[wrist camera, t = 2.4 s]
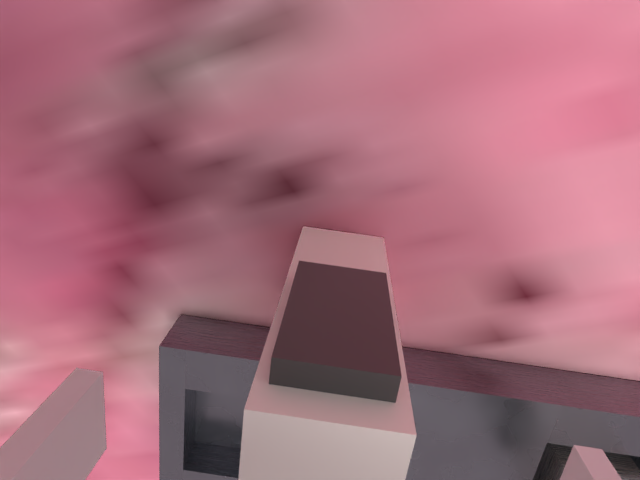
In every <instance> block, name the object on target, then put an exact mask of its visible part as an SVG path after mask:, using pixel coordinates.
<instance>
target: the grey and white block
mask: <svg viewBox="0 0 640 480" xmlns="http://www.w3.org/2000/svg"><path fill="white" fill-rule="evenodd" d="M269 330H270V328H269V327H262V326H256V325H249V324H242V323H235V322H228V321H221V320H215V319H208V318H201V317H194V316H187V315H181V316H180V317H179V318H178V320H177V321H176V323H175V324H174V326H173V327H172V328H171V330H170V331H169V333H168V334H167V336H166V337H165V339H164V340H163V341H162V343H161V344H160V346H159V451H160V480H238V477H239V465H240V452H241V440H242V428H243V415H244V408H245V405H246V402H247V398H248V395H249V392H250V389H251V386H252V383H253V380H254V377H255V374H256V371H257V367H258V364H259V361H260V358H261V355H262V352H263V349H264V346H265V343H266V340H267V336H268V333H269ZM402 350H403V356H404V362H405V368H406V374H407V380H408V386H409V392H410V398H411V404H412V410H413V416H414V422H415V429H416V435H417V436H416V440H415V444H414V448H413V451H412V455H411V459H410V463H409V467H408V471H407V475H406V479H405V480H560V478H561V475H562V473H563V470H564V468H565V465H566V463H567V460H568V458H569V455H570V453H571V450H572V448H573V445H578V446H584V447H591V448H597V449H602V450H603V451H604V453H605V455H606V456H607V458H608V459H609V461H610V462H611V464H612V465H613V467H614V468H615V470H616V471H617V473H618V475H619V476H620V478H621V479H622V480H640V382H639V381H632V380H625V379H619V378H612V377H605V376H598V375H591V374H584V373H577V372H571V371H564V370H557V369H550V368H543V367H536V366H530V365H523V364H516V363H509V362H502V361H495V360H488V359H482V358H475V357H468V356H461V355H454V354H447V353H440V352H434V351H427V350H420V349H413V348H406V347H402Z"/></svg>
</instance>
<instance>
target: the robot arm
mask: <svg viewBox="0 0 640 480" xmlns="http://www.w3.org/2000/svg"><path fill="white" fill-rule="evenodd" d="M105 450H106V426H105V404H104V382H103V372H101V371H94V370H88V369H81V368H76V369H75V370H74V371H73V372H72V373H71V374H70V375H69V376H68V377H67V378H66V379H65V380H64V381H63V382H62V383H61V385H60V386H59V387H58V388H57V389H56V390H55V391H54V392H53V393H52V394H51V395H50V396H49V397H48V398H47V399H46V400H45V401H44V402H43V403H42V404H41V405H40V407H39V408H38V409H37V410H36V411H35V412H34V413H33V414H32V415H31V416H30V417H29V418H28V419H27V420H26V421H25V422H24V423H23V424H22V425H21V426H20V427H19V429H18V430H17V431H16V432H15V433H14V434H13V435H12V436H11V437H10V438H9V439H8V440H7V441H6V442H5V443H4V444H3V445H2V446H1V447H0V480H85V479H86V478H87V476H88V475H89V474H90V472H91V471H92V469H93V468H94V466H95V465H96V463H97V462H98V460H99V459H100V457H101V456H102V454H103V453H104V451H105ZM560 480H622V479H621V478H620V476H619V475H618V473H617V471H616V470H615V468H614V467H613V465H612V464H611V462H610V461H609V459H608V458H607V456H606V455H605V453H604V451H603V450H602V449H597V448H591V447H584V446H578V445H573V448H572V450H571V453H570V455H569V458H568V460H567V463H566V465H565V468H564V470H563V473H562V475H561V478H560Z"/></svg>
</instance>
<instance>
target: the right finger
mask: <svg viewBox="0 0 640 480" xmlns="http://www.w3.org/2000/svg"><path fill="white" fill-rule="evenodd" d="M416 436H417V435H416V429H415V422H414V416H413V410H412V404H411V398H410V392H409V386H408V380H407V374H406V368H405V362H404V356H403V350H402V344H401V338H400V332H399V326H398V320H397V314H396V308H395V302H394V296H393V290H392V284H391V278H390V272H389V266H388V260H387V254H386V248H385V241H384V237H377V236H370V235H363V234H356V233H348V232H341V231H334V230H327V229H320V228H313V227H306V226H303V228H302V231H301V234H300V237H299V240H298V243H297V247H296V250H295V253H294V256H293V259H292V262H291V265H290V268H289V271H288V274H287V278H286V281H285V284H284V287H283V290H282V293H281V296H280V299H279V302H278V305H277V309H276V312H275V315H274V318H273V321H272V324H271V327H270V330H269V333H268V336H267V340H266V343H265V346H264V349H263V352H262V355H261V358H260V361H259V364H258V367H257V371H256V374H255V377H254V380H253V383H252V386H251V389H250V392H249V395H248V398H247V402H246V405H245V408H244V415H243V428H242V440H241V452H240V465H239V477H238V480H405V479H406V475H407V471H408V467H409V463H410V459H411V455H412V451H413V448H414V444H415V440H416Z"/></svg>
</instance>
